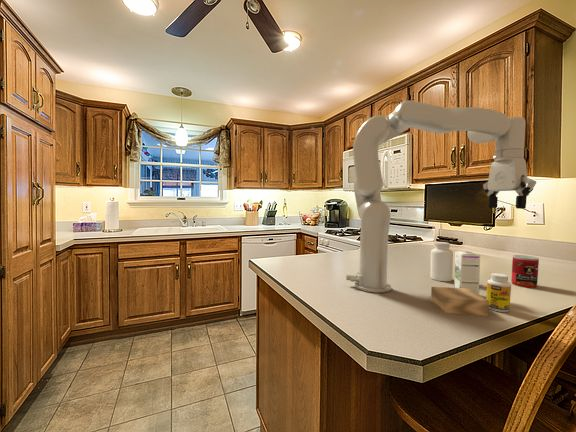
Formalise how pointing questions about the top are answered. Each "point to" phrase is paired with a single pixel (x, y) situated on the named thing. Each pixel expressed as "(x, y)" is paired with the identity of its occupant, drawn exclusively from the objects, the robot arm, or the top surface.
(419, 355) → the top surface
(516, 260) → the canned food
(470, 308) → the oak block
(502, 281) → the supplement bottle
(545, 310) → the top surface
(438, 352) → the top surface
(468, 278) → the syrup box
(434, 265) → the pill bottle
